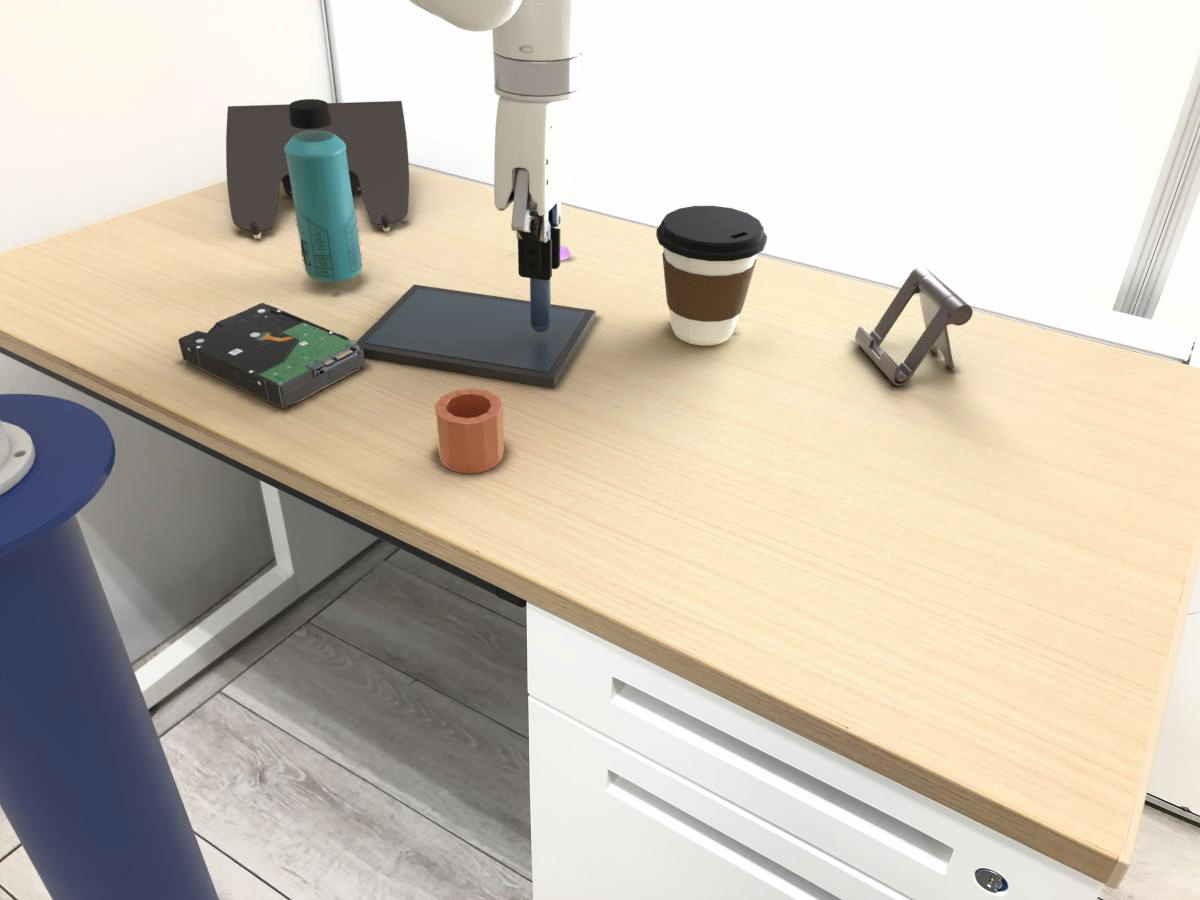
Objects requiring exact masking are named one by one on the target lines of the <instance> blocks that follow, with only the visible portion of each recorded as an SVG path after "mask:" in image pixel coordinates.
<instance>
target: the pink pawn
mask: <svg viewBox="0 0 1200 900" xmlns="http://www.w3.org/2000/svg"><path fill="white" fill-rule="evenodd" d="M570 255H571V251H570V249H569V248H568V247H567V246H565V245H560V261H565V260H567V259H568V258H569V257H570Z"/></svg>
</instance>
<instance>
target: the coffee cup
mask: <svg viewBox="0 0 1200 900" xmlns="http://www.w3.org/2000/svg"><path fill="white" fill-rule="evenodd" d="M655 236H656V239H657V241H658V244H659V245H660V246H662V248H663V252H662V253H661V254H662V255H661V257H662V265H663V275H664V276H663V277H664V286H665V296H666V303H667V307H668V309H669V321H670V323H669V324H670V325H671V329H672V331H673V333H674V336H675V337H676V338H678V339H679V340H681V341H682V342H685V343H688V344H689V345H696V346H701V347H702V346H704V347H705V346H706V347H707V346H708V347H709V346H717V345H720V344H723V343H725V342H726V341H728V340H729V339H730V338H731V336H732V335H733V333H734V331H735V329H736V326H737V322H738V320H739V316H740V314H741V313H742V310H743V308H744V306H745V303H746V297H747V294H748V292H749V288H750V284H751V282H752V278H753V275H754V271H755V268H756V264H757V261H758V260H757V255H758V254H760V253H762V252H763V251H764V250H765V247H766V244H767V241H768V236H767V234H766V232H765V228H764V226H763V224H762V223H761V221H760V220H759V218H756V217H755V216H753V215H752V214H749V213H748V212H745V211H742V210H739V209H735V208H733V207H727V206H726V207H725V206H718V205H692V206H687V207H685V206H684V207H680V208H677V209H675V210H673V211H670V212H668V213H667V214H665V216H664V217H663V218H662V220H661V221H660V224H659V226H658V227H657V228H656V233H655Z"/></svg>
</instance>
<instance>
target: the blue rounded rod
mask: <svg viewBox="0 0 1200 900" xmlns="http://www.w3.org/2000/svg"><path fill="white" fill-rule="evenodd" d="M533 219H536V220H537V221H538V223H539V217H535V218H533ZM548 239H550V223H549V221H548ZM551 278H552V277H551ZM551 278H550V279H549V280H540V279H532V278H529V301H530V312H531V326H532V328H533V329H534V330H535V331H538V332H544V331H546V330H547V329H548V328H549V327H550V323H551V304H552V303H551V300H552V299H551V295H552V294H551V287H552V283H551V280H552V279H551Z"/></svg>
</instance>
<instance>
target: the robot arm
mask: <svg viewBox="0 0 1200 900" xmlns="http://www.w3.org/2000/svg"><path fill="white" fill-rule="evenodd" d="M408 1H409V2H410V3H411V4H413V5H415V6H416V7H418V8H420V9H422V10H424V11H425V12H428V13H429V14H431V15H434V16H436V17H438V18H440V19H442V20H443V21H445V22H447V23H449V24H451V25H453V26H454V27H456V28H458V29H461V30H464V31H467V32H468V31H469V32H487V31H492V34H491V35H492V51H493V52H492V55H493V57H492V58H493V82H494V84H493V85H494V89H493V90H494V93H495V94H496V96H498V97H499V98H498V102H497V109H496V118H495V133H494V167H493V168H494V172H493V173H494V175H493V177H494V178H493V180H494V181H493V182H494V183H493V188H494V189H493V191H494V192H493V193H494V195H493V197H494V200H493V201H494V207H495V208H496V210H497V211H499V212H503V211H505V210H506V209H508V208H509V207H510V205H511V204H512V203H513V204H512V205H513V206H512V215H511V224H510V227H511V231H513V232H516V239H517V263H518V266H517V267H518V269H517V270H518V275H519V277H521V278H526V279H530V278H532V279H540V280H549V279H550V278H552V276H553V270H557V269H559V268H560V266H561V260H560V246H561V228H560V226H561V222H562V197H563V196H564V195H565V194H566V193H567V191H568V190H569V189H570V188H571V185H572V183H573V179H574V169H575V117H574V116H575V115H574V114H575V113H574V99H576V98H577V97H579V96H580V95H581V94H582V54H583V53H582V51H583V49H582V48H583V47H582V46H583V45H582V44H583V41H582V40H583V36H582V35H583V0H408ZM535 217H539V223H538V221H537V220H536V219H533V218H535ZM548 221H549V223H550V239H548ZM35 456H36V454H35V447H34V445H33V442H32V440H31V437H30V436H29V435H28V434H27V432H26V431H25V430H23V429H21V428H20V427H18V426H16V425H13V424H10V423H7V422H1V420H0V495H2V494H3V493H5V492H7V491H8V490H9V489H11V488H12V487H13V486H15V485H16V484H17V483H18V482H19V481H20V480H21V479H22V478H23V477H24V476H25V475H26V474H27V473H28V472H29V470H30V468H31V467H32V465H33V463H34V460H35Z"/></svg>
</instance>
